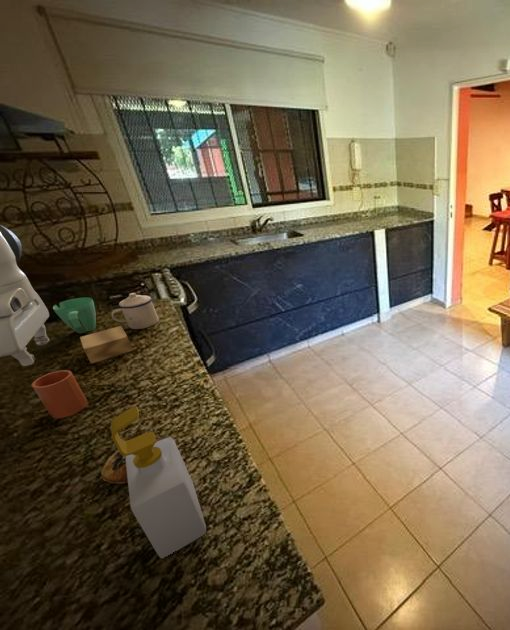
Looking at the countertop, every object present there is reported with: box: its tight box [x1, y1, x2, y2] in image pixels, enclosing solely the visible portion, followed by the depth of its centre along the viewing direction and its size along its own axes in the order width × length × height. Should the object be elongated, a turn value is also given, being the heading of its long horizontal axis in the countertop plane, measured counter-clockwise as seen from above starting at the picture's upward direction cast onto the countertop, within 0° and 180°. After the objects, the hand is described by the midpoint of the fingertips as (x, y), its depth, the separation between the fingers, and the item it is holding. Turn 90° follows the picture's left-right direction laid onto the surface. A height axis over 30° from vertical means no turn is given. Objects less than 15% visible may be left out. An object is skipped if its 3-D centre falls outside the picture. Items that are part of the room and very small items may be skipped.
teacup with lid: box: [110, 292, 160, 330], centre depth 118 cm, size 12×9×12 cm
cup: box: [31, 369, 89, 419], centre depth 81 cm, size 7×7×9 cm
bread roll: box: [100, 434, 164, 485], centre depth 68 cm, size 11×11×5 cm
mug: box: [52, 297, 97, 334], centre depth 114 cm, size 15×10×10 cm
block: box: [79, 325, 134, 364], centre depth 105 cm, size 10×10×5 cm
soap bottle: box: [110, 405, 207, 560], centre depth 53 cm, size 12×7×23 cm, turn 41°
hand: (37, 353), depth 75 cm, fingers open, 8 cm apart
